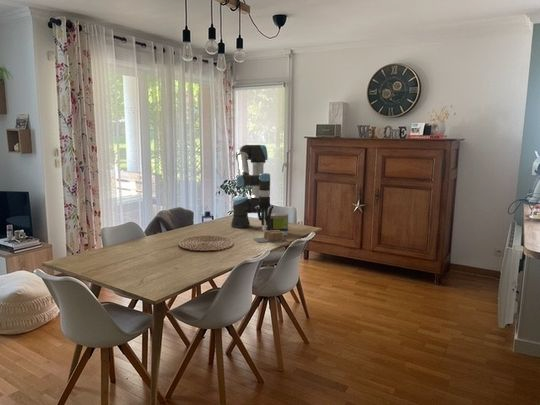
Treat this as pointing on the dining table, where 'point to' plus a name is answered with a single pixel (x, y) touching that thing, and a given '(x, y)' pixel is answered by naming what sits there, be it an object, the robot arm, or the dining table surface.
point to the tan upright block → (273, 235)
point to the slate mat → (261, 240)
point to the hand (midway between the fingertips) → (264, 229)
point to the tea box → (278, 223)
